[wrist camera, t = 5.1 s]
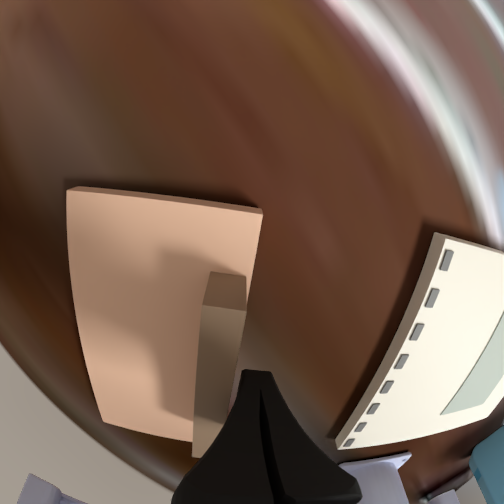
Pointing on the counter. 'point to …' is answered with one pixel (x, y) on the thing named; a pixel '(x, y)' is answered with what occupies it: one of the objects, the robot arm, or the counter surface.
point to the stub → (161, 306)
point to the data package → (490, 466)
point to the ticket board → (439, 351)
